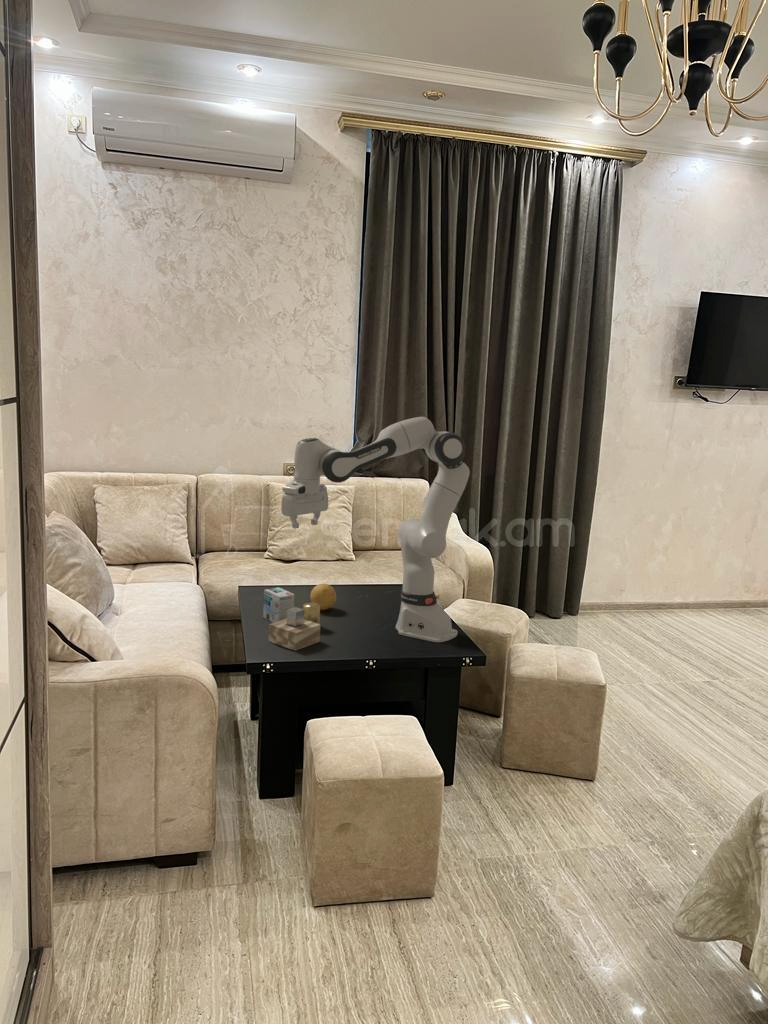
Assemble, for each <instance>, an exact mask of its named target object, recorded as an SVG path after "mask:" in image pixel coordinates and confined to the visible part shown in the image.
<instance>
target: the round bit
mask: <svg viewBox="0 0 768 1024" xmlns="http://www.w3.org/2000/svg"><path fill="white" fill-rule="evenodd" d="M302 604H303V605H302V609H304V619H305V620H308V621H311V622H314V623H317V624H320V617H321V610H320V604H317V603H312V602H305V603H302Z"/></svg>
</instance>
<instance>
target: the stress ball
mask: <svg viewBox="0 0 768 1024" xmlns="http://www.w3.org/2000/svg"><path fill="white" fill-rule="evenodd" d="M309 597H310V603H317V604H320V611H326V610H328V609H331V608H332V606H334V604H335V602H336V601H337V592H336V590H335V588H334V587H333V586H332V585H330V584H327V583H319V584H317V585H316V586H314V587H313V588H312V590H311V592H310V595H309Z"/></svg>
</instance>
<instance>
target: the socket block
mask: <svg viewBox="0 0 768 1024" xmlns="http://www.w3.org/2000/svg"><path fill="white" fill-rule="evenodd" d="M320 640H321V624H320V623H319V624H317V623H314V622H311V621H308V620H305V619H304V625H303V626H300V627H297V628H294V627H291V626H287V619H284V620H281V621H278V622H275V623H272V622H271V623H270V624H268V642H269V643H272V644H275V645H278V646H280V647H284V648H287V649H289V650H293V651H298V650H300V649H301V650H302V649H304V648H306V647H309V646H311V645H315V644H317V643H319V642H320Z"/></svg>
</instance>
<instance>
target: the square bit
mask: <svg viewBox="0 0 768 1024" xmlns="http://www.w3.org/2000/svg"><path fill="white" fill-rule="evenodd" d="M303 625H304V609H303V608H301V607H297V606H294V608H291V609H287V626H291V627H294V628H297V627H300V626H303Z"/></svg>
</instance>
